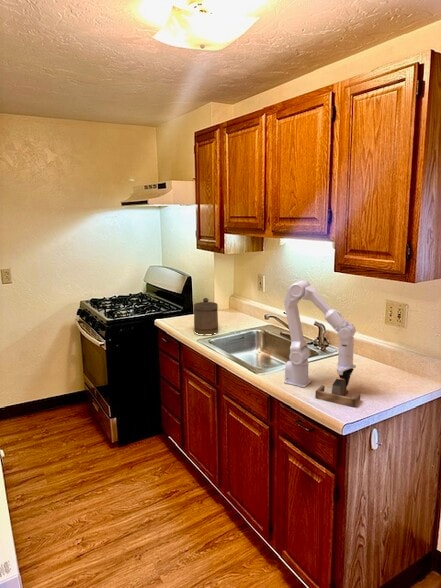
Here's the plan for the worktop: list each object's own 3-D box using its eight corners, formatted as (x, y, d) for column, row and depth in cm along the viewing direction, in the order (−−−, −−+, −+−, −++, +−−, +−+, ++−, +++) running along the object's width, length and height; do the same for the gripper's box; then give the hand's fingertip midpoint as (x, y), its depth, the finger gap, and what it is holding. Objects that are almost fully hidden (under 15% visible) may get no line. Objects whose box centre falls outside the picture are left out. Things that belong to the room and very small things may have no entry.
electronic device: (348, 393, 164) (349, 375, 163) (341, 403, 156) (342, 384, 155) (337, 391, 166) (338, 373, 165) (330, 400, 158) (330, 382, 157)
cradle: (315, 398, 160) (315, 391, 160) (321, 391, 166) (321, 384, 166) (355, 407, 152) (355, 400, 151) (360, 400, 158) (360, 393, 157)
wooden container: (222, 331, 257) (221, 297, 253) (210, 337, 244) (209, 301, 240) (202, 328, 264) (201, 295, 260) (189, 334, 252) (188, 299, 248)
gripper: (350, 361, 155) (349, 394, 158) (360, 350, 167) (359, 381, 169) (332, 357, 159) (331, 390, 161) (343, 347, 171) (342, 378, 173)
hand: (344, 385), depth 166 cm, fingers closed
